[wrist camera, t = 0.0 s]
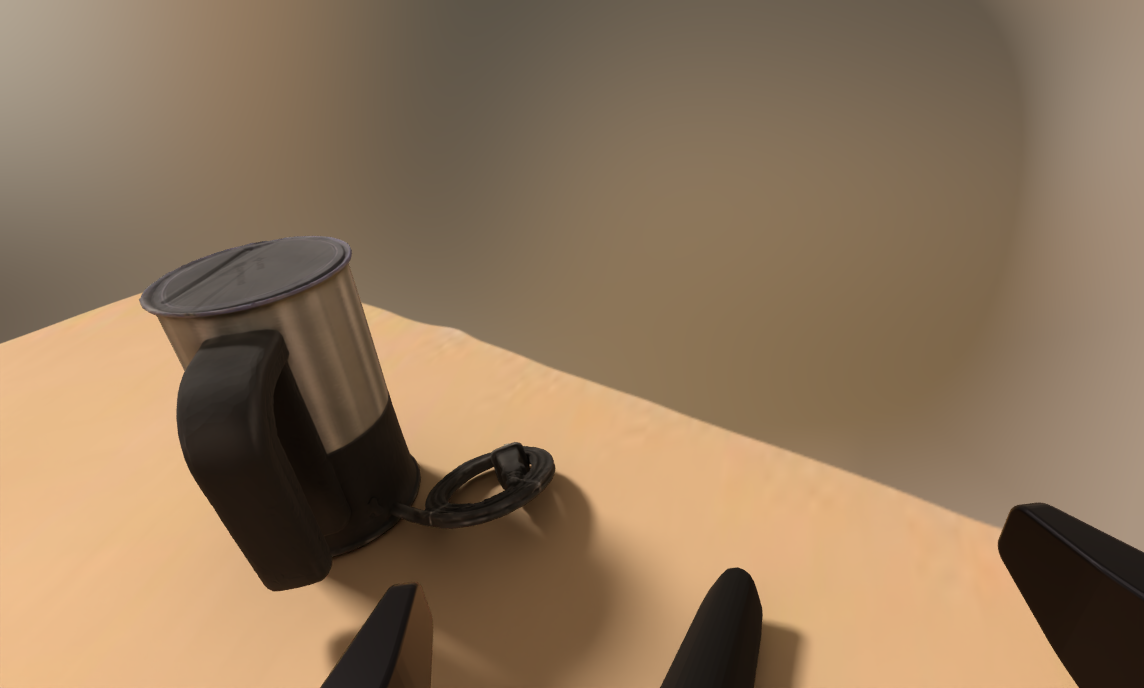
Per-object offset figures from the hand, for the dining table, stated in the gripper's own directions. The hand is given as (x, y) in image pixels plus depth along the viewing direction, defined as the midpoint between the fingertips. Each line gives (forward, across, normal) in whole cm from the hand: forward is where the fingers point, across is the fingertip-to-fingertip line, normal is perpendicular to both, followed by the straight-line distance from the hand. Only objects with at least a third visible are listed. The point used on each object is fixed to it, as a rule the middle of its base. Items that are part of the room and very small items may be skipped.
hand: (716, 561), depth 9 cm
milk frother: (+20, +12, +17) cm, 29 cm away
